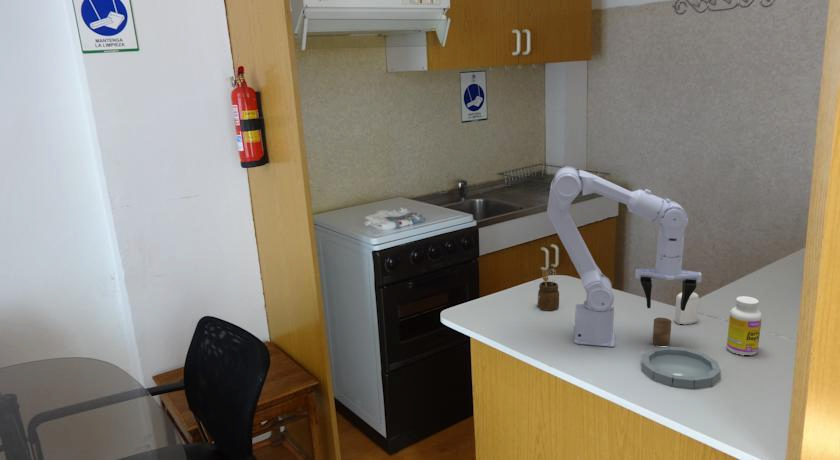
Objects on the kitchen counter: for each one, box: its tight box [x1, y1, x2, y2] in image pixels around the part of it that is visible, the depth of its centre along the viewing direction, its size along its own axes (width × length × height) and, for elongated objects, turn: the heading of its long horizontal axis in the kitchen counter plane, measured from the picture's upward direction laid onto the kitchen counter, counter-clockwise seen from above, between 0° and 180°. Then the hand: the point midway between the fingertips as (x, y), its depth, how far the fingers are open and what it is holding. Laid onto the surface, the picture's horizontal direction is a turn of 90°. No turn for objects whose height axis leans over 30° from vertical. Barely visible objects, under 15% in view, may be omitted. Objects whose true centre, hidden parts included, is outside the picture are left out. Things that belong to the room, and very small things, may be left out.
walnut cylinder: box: [652, 317, 672, 347], centre depth 156 cm, size 4×4×6 cm
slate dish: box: [640, 346, 722, 390], centre depth 143 cm, size 16×16×2 cm
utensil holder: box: [537, 269, 560, 312], centre depth 180 cm, size 6×6×12 cm
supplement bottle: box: [726, 295, 763, 356], centre depth 150 cm, size 7×7×13 cm
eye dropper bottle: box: [674, 291, 700, 326], centre depth 167 cm, size 4×6×12 cm
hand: (665, 307), depth 154 cm, fingers open, 7 cm apart
